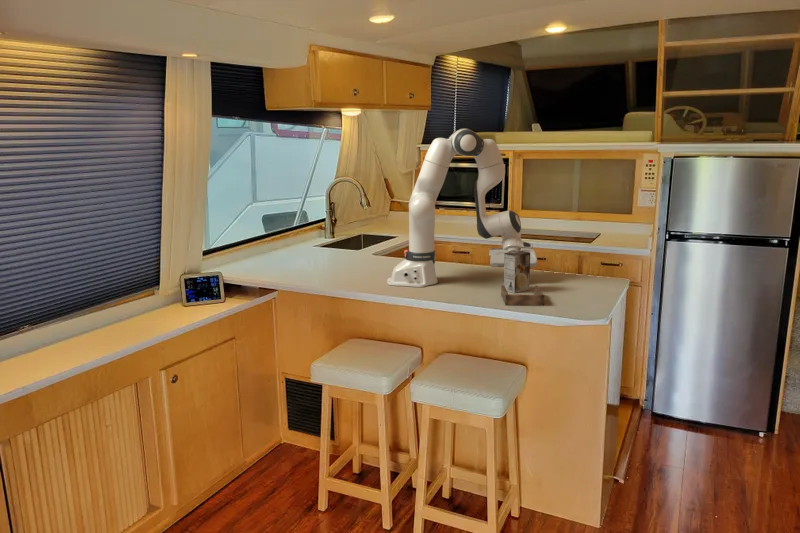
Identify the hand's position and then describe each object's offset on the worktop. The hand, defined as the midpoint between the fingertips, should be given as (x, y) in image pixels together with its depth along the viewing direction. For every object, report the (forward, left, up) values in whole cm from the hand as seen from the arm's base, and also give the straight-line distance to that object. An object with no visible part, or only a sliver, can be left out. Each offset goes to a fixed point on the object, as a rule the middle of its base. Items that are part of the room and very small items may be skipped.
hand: (514, 274), depth 251 cm
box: (0, -23, -5) cm, 23 cm away
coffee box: (0, -8, -5) cm, 9 cm away
